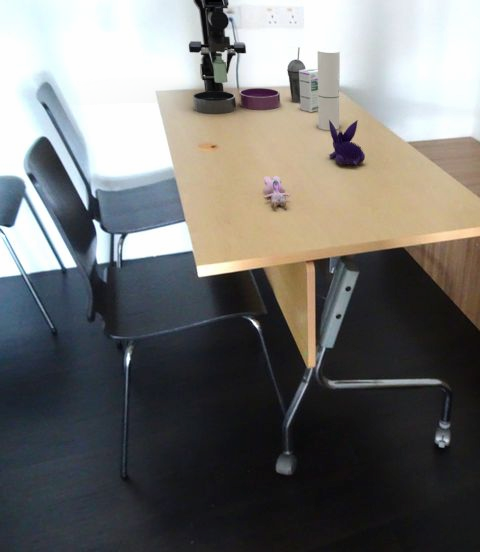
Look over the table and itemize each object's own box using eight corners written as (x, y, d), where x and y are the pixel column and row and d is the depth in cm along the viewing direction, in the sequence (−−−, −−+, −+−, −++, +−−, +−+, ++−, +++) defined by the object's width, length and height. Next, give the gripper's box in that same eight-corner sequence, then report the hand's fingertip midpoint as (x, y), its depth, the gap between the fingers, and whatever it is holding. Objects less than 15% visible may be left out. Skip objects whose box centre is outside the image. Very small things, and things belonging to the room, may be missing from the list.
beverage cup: (286, 99, 226) (283, 45, 216) (303, 98, 229) (302, 45, 218) (291, 103, 220) (289, 49, 210) (309, 102, 223) (308, 49, 213)
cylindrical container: (340, 125, 199) (341, 49, 186) (337, 131, 193) (337, 53, 180) (320, 123, 199) (320, 48, 187) (316, 129, 193) (315, 51, 181)
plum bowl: (232, 107, 211) (231, 93, 208) (256, 99, 222) (255, 86, 220) (265, 113, 206) (264, 99, 203) (287, 105, 218) (287, 91, 215)
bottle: (212, 81, 201) (209, 53, 196) (220, 79, 205) (217, 51, 200) (222, 83, 200) (219, 55, 195) (230, 81, 203) (227, 53, 198)
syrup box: (311, 112, 211) (310, 72, 204) (299, 109, 214) (298, 69, 207) (321, 110, 215) (321, 70, 208) (310, 106, 218) (309, 67, 211)
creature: (347, 149, 177) (347, 110, 170) (370, 169, 163) (372, 127, 157) (320, 152, 173) (319, 112, 167) (342, 172, 159) (342, 129, 153)
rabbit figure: (293, 213, 137) (282, 181, 148) (293, 192, 133) (282, 161, 144) (267, 215, 135) (258, 183, 146) (266, 194, 131) (257, 162, 142)
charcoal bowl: (185, 111, 202) (183, 96, 200) (213, 103, 214) (211, 89, 211) (218, 118, 198) (217, 103, 195) (244, 109, 209) (243, 95, 207)
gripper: (185, 28, 184) (191, 78, 192) (244, 29, 189) (248, 78, 196) (187, 23, 193) (193, 71, 201) (243, 25, 198) (247, 71, 206)
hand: (220, 73), depth 201 cm, fingers closed on bottle, 4 cm apart
